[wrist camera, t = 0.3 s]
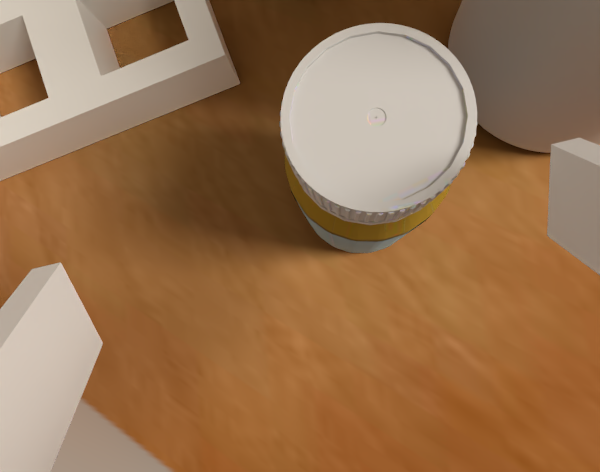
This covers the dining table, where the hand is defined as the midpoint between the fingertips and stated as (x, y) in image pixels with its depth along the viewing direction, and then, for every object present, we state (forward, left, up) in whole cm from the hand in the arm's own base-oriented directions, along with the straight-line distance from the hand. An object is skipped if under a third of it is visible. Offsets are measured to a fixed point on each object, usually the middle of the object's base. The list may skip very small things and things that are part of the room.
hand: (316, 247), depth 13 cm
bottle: (+3, -3, -17) cm, 17 cm away
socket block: (+20, +10, -17) cm, 28 cm away
